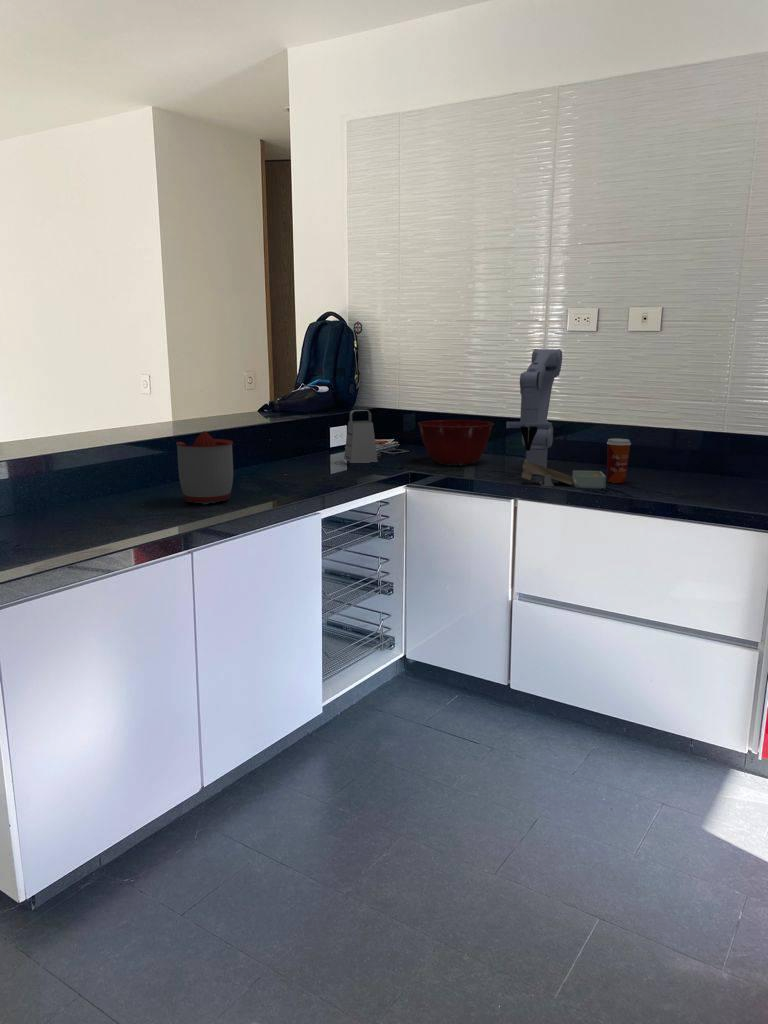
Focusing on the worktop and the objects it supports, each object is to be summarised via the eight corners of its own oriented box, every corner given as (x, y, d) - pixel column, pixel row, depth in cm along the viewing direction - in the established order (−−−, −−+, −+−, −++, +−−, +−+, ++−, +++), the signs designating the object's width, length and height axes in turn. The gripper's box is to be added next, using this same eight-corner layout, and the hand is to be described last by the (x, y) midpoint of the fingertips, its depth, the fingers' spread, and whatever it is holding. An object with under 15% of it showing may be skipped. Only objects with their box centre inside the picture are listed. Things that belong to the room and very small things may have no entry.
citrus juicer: (208, 493, 224) (205, 426, 220) (246, 500, 214) (244, 430, 209) (164, 501, 213) (160, 431, 208) (202, 509, 202) (198, 435, 198)
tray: (572, 481, 245) (572, 470, 244) (600, 482, 244) (601, 471, 243) (576, 488, 234) (576, 476, 233) (605, 488, 233) (606, 476, 232)
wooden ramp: (518, 470, 251) (523, 456, 249) (564, 486, 250) (570, 471, 248) (520, 477, 238) (525, 461, 237) (569, 493, 237) (575, 478, 236)
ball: (592, 471, 239) (601, 475, 239) (587, 480, 240) (596, 484, 240) (593, 473, 236) (603, 477, 236) (589, 482, 237) (598, 486, 237)
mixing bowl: (404, 460, 290) (404, 420, 286) (467, 456, 301) (468, 417, 298) (439, 471, 265) (440, 427, 261) (507, 466, 276) (508, 424, 273)
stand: (539, 481, 245) (539, 470, 244) (551, 482, 244) (552, 470, 243) (541, 486, 237) (541, 474, 236) (553, 486, 236) (554, 474, 236)
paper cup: (612, 484, 240) (615, 441, 237) (599, 480, 247) (602, 438, 244) (633, 483, 242) (636, 440, 239) (620, 479, 249) (623, 437, 246)
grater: (343, 462, 284) (343, 409, 280) (370, 461, 287) (370, 409, 283) (350, 466, 274) (350, 411, 270) (378, 465, 277) (378, 411, 273)
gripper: (507, 409, 240) (505, 451, 243) (553, 410, 238) (551, 452, 241) (506, 407, 247) (505, 448, 250) (551, 408, 245) (549, 449, 248)
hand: (527, 450), depth 246 cm, fingers closed
